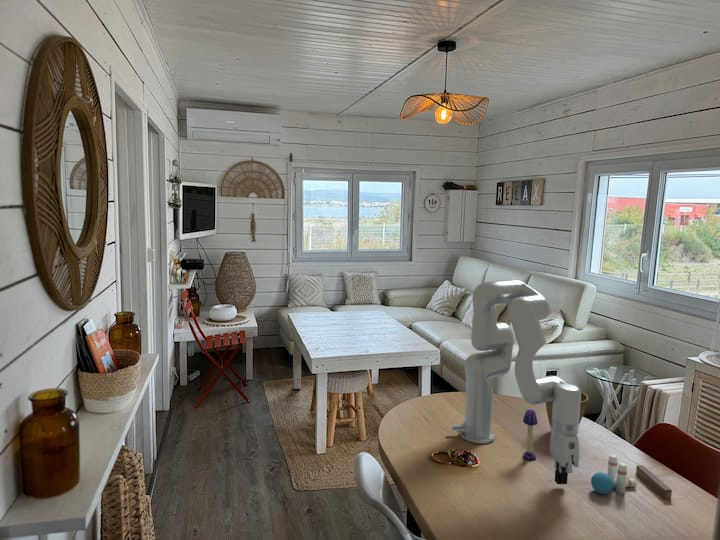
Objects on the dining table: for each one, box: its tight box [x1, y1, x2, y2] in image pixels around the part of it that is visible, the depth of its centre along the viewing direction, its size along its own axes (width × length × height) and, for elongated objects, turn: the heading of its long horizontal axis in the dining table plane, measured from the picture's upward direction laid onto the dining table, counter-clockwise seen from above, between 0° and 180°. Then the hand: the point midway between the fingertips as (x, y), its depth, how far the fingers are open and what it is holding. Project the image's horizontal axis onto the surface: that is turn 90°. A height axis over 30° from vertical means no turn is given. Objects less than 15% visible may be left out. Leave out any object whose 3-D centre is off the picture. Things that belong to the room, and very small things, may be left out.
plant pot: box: [545, 391, 589, 432], centre depth 186 cm, size 15×15×16 cm
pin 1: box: [606, 454, 619, 479], centre depth 155 cm, size 2×2×8 cm
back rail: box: [635, 464, 673, 501], centre depth 153 cm, size 2×14×3 cm, turn 3°
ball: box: [590, 471, 614, 495], centre depth 149 cm, size 6×6×6 cm
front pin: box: [612, 477, 637, 488], centre depth 152 cm, size 2×2×8 cm
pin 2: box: [615, 462, 628, 495], centre depth 150 cm, size 2×2×8 cm
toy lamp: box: [522, 409, 538, 462], centre depth 168 cm, size 5×5×17 cm
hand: (560, 482), depth 152 cm, fingers closed
